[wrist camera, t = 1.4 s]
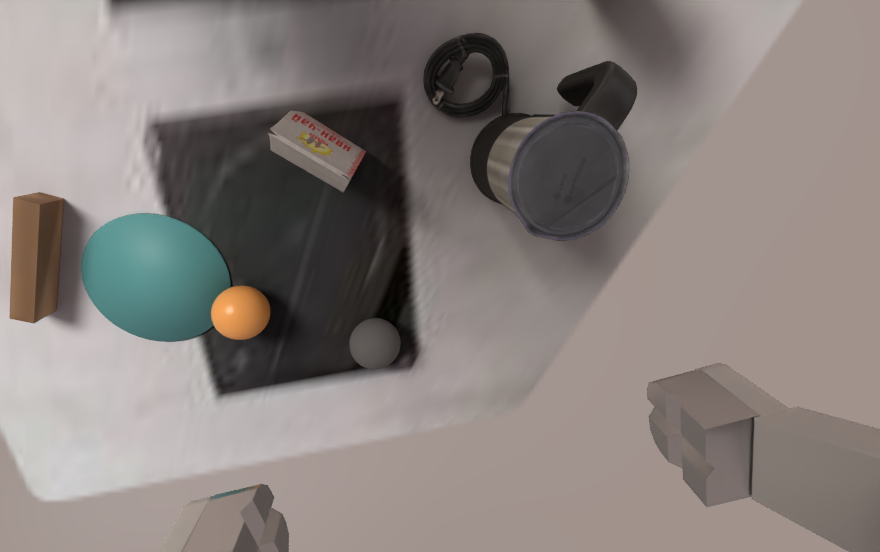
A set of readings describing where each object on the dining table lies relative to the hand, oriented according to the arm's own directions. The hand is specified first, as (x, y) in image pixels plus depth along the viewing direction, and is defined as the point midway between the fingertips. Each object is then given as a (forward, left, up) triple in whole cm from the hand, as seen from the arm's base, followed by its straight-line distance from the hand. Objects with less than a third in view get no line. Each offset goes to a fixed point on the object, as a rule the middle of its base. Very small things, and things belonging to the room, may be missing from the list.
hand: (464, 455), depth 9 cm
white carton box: (-8, +2, -38) cm, 39 cm away
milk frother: (+7, +9, -38) cm, 39 cm away
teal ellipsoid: (-21, -16, -37) cm, 46 cm away
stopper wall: (-31, -16, -37) cm, 51 cm away
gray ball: (+2, -16, -35) cm, 38 cm away
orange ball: (-12, -16, -35) cm, 40 cm away
